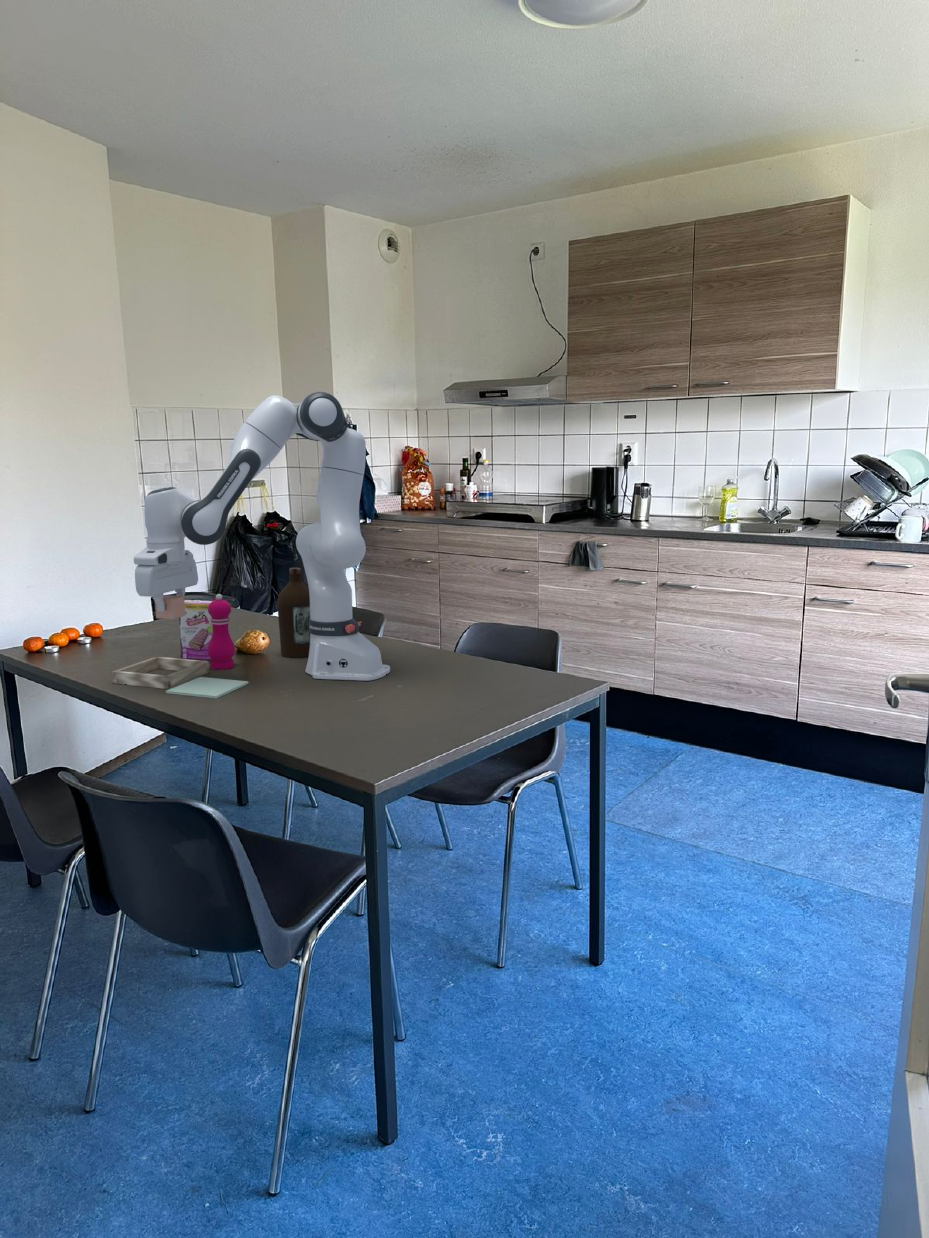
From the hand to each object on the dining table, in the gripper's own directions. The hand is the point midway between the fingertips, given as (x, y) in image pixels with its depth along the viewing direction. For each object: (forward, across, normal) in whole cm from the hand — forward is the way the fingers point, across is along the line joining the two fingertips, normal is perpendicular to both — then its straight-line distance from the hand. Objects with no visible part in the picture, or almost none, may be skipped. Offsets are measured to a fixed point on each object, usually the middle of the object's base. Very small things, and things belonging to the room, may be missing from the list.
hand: (170, 608), depth 217 cm
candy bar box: (+19, -22, -7) cm, 30 cm away
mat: (+19, +4, +12) cm, 23 cm away
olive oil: (+19, -36, +15) cm, 43 cm away
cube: (+2, 0, 0) cm, 2 cm away
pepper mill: (+19, -16, +3) cm, 25 cm away
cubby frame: (+18, -1, -5) cm, 19 cm away
